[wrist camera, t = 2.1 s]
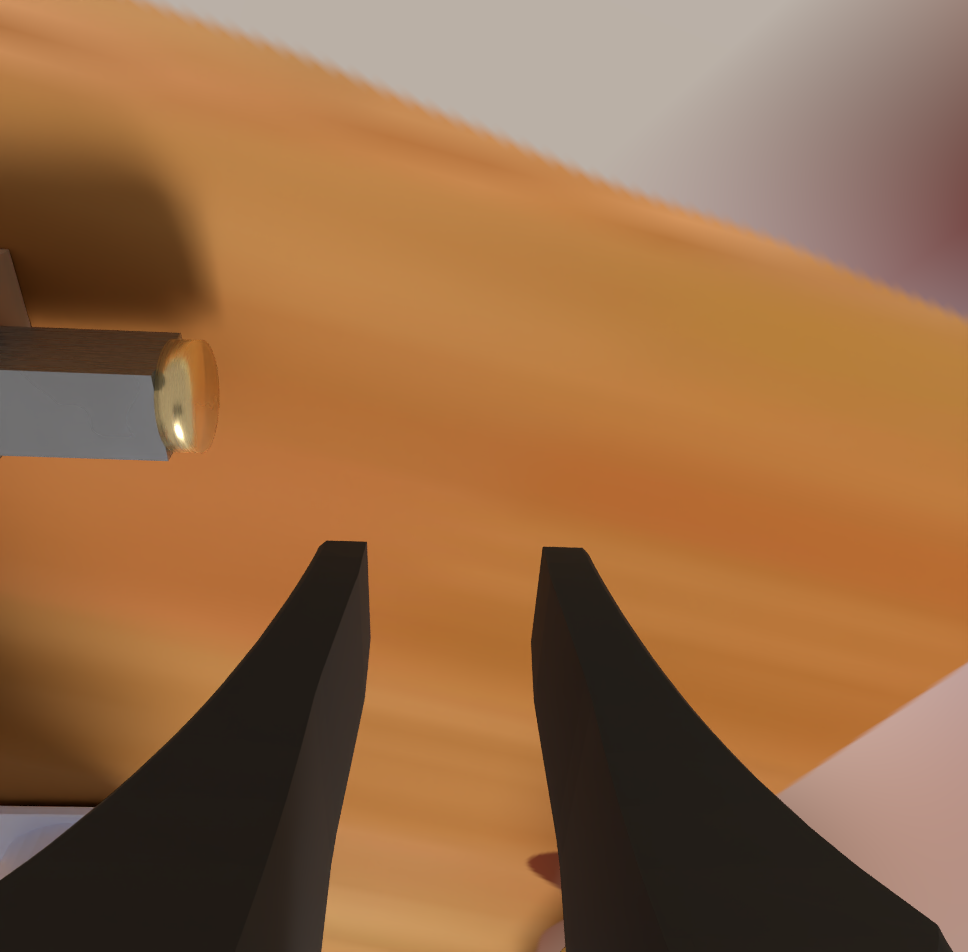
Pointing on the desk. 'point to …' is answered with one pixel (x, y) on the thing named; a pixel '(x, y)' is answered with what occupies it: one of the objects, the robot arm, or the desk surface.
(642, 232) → the desk surface
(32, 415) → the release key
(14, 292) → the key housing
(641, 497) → the desk surface
